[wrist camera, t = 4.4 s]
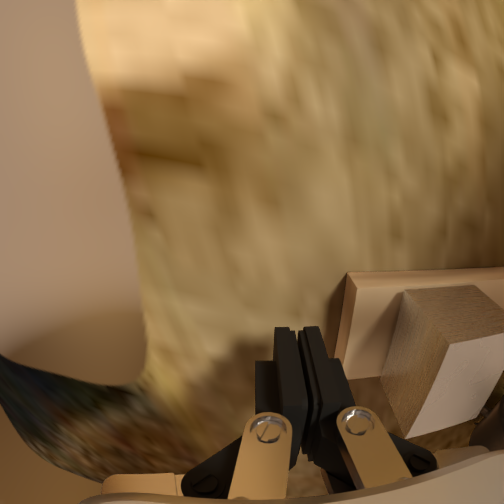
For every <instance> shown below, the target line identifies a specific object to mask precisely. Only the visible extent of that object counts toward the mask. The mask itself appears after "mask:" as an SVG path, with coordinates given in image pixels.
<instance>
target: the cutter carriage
mask: <svg viewBox="0 0 504 504" xmlns="http://www.w3.org/2000/svg"><path fill="white" fill-rule="evenodd" d="M503 370H504V310H503V309H502V308H501V307H500V306H499V305H498V304H496V303H495V302H494V301H493V300H492V299H491V298H489V297H488V296H487V295H486V294H485V293H484V292H482V291H481V290H480V289H479V288H478V287H476V286H475V285H463V286H450V287H436V288H421V289H404V293H403V298H402V302H401V306H400V311H399V315H398V319H397V323H396V327H395V330H394V334H393V338H392V341H391V345H390V348H389V352H388V355H387V359H386V362H385V365H384V368H383V371H382V375H381V378H380V382H381V384H382V387H383V389H384V391H385V393H386V396H387V398H388V400H389V403H390V405H391V407H392V409H393V412H394V414H395V417H396V419H397V421H398V424H399V426H400V428H401V431H402V433H403V436H404V438H405V439H408V438H412V437H416V436H420V435H423V434H427V433H431V432H434V431H438V430H441V429H444V428H447V427H451V426H454V425H457V424H460V423H463V422H466V421H468V420H471V419H474V418H476V417H477V415H478V414H479V412H480V411H481V409H482V408H483V406H484V404H485V403H486V401H487V399H488V398H489V396H490V394H491V392H492V391H493V389H494V387H495V385H496V383H497V382H498V380H499V378H500V376H501V374H502V372H503Z"/></svg>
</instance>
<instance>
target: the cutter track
mask: <svg viewBox="0 0 504 504" xmlns="http://www.w3.org/2000/svg"><path fill="white" fill-rule="evenodd" d="M463 285H475V286H476V287H478V288H479V289H480V290H481V291H482V292H484V293H485V294H486V295H487V296H488V297H489V298H491V299H492V300H493V301H494V302H495V303H496V304H498V305H499V306H500V307H501V308H502V309H503V310H504V267H487V268H466V269H442V270H415V271H382V272H347V278H346V286H345V294H344V301H343V307H342V314H341V320H340V327H339V333H338V339H337V344H336V350H335V355H334V358H339V359H340V361H341V364H342V366H343V369H344V372H345V375H346V378H347V380H350V379H360V378H368V377H376V376H381V375H382V371H383V368H384V365H385V362H386V359H387V355H388V352H389V348H390V345H391V341H392V338H393V334H394V330H395V327H396V323H397V319H398V315H399V311H400V306H401V302H402V298H403V293H404V289H421V288H436V287H450V286H463Z"/></svg>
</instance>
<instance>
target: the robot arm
mask: <svg viewBox="0 0 504 504" xmlns="http://www.w3.org/2000/svg"><path fill="white" fill-rule="evenodd" d="M300 445H301V449H302V454H307V455H308V461H314V464H316V465H317V466H319V467H321V474H322V477H323V480H324V482H325V485H326V488H327V491H328V493H329V495H322V496H313V497H303V498H289V499H285V498H286V489H287V481H288V471H289V470H290V469H291V468H293V467H294V466H295V465H296V461H297V456H298V454H299V450H300ZM79 504H504V450H497V451H492V452H490V451H489V450H488V449H487V448H486V447H483V446H477V445H476V446H469V447H462V448H453V449H443V450H436V451H435V453H431V452H430V451H428V450H426V449H424V448H422V447H419V446H417V445H415V444H413V443H410V442H408V441H406V440H404V439H402V438H399V437H397V436H395V435H393V434H391V433H389V432H387V431H386V429H385V428H384V426H383V424H382V422H381V421H380V419H379V417H378V416H377V415H376V413H375V412H373V411H372V410H370V409H368V408H365V407H361V406H356V405H355V402H354V399H353V396H352V393H351V390H350V387H349V384H348V381H347V378H346V375H345V372H344V369H343V366H342V364H341V361H340V359H339V358H328V355H327V352H326V348H325V345H324V342H323V339H322V335H321V332H320V329H319V327H318V326H310V327H304V328H303V330H300V331H298V339H296V334H295V331H290V328H289V327H275V330H274V351H273V361H255V416H253V417H251V418H250V419H249V420H248V421H247V423H246V425H245V428H244V432H243V435H242V436H241V437H240V438H238V439H237V440H235V441H234V442H233V443H231V444H230V445H228V446H227V447H225V448H224V449H222V450H221V451H219V452H218V453H216V454H215V455H213V456H212V457H210V458H209V459H207V460H206V461H204V462H203V463H201V464H199V465H198V466H196V467H195V468H193V469H191V470H190V471H189V472H187V473H186V474H182V475H174V473H160V474H117V475H112V476H110V477H108V478H106V480H105V481H104V482H103V484H102V488H101V495H98V496H93V497H90V498H87V499H85V500H83V501H81V502H80V503H79Z"/></svg>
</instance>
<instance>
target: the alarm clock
mask: <svg viewBox="0 0 504 504" xmlns="http://www.w3.org/2000/svg"><path fill="white" fill-rule="evenodd" d="M480 413H481V414H482V415H484V416H485V417H484V418H483V419H482V420H481V421H480V422H479V423H475V425H477V426H476V427H475V429H474V431H473V433H472V435H471V438H470V442H469V446H476V445H477V446H483V447H486V448H487V449H488V450H489V451H490V452H492V451H497V450H504V395H503V397H502V398H501V400H500V401H499V402H498V403H497V404H496V405H495V406H494V408H493V409H490V408H488V407H487V406H486V405H484V406H483V408H482V409H481V411H480Z"/></svg>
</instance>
